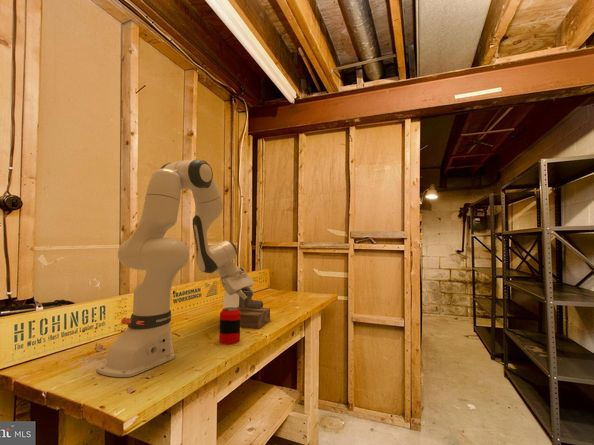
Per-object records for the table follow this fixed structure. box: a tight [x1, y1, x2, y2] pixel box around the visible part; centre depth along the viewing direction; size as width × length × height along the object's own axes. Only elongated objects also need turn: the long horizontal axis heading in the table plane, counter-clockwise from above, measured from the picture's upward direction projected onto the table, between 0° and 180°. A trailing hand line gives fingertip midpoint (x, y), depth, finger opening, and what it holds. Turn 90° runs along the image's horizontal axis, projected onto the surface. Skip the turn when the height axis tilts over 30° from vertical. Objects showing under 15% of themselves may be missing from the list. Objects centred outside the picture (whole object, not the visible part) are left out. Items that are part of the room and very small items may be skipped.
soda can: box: [218, 307, 241, 345], centre depth 110 cm, size 8×8×12 cm
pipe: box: [239, 289, 264, 309], centre depth 134 cm, size 6×13×8 cm, turn 74°
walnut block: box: [236, 306, 271, 330], centre depth 133 cm, size 14×16×6 cm
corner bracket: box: [222, 291, 239, 308], centre depth 165 cm, size 11×11×12 cm
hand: (249, 297), depth 134 cm, fingers closed on pipe, 5 cm apart
